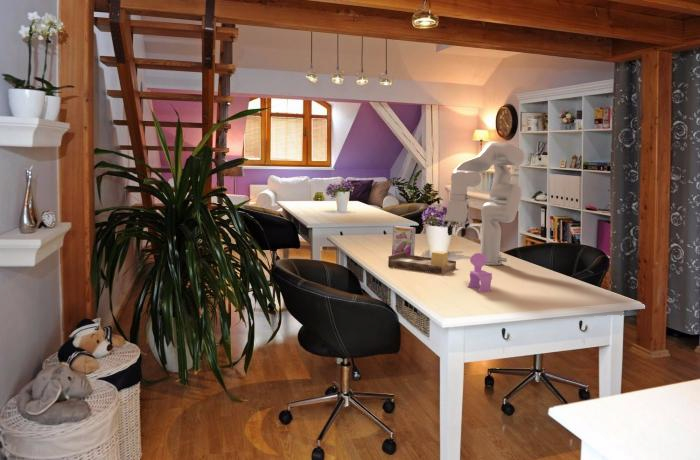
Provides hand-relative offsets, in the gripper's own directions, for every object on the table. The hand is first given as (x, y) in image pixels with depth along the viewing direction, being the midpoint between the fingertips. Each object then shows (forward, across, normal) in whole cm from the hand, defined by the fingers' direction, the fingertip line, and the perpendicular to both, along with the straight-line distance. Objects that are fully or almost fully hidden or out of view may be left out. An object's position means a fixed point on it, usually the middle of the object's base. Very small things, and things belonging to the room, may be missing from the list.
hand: (456, 235), depth 285 cm
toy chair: (+18, -22, +27) cm, 39 cm away
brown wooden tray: (+18, +17, 0) cm, 24 cm away
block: (+15, +8, 0) cm, 17 cm away
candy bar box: (+18, +36, -17) cm, 44 cm away
